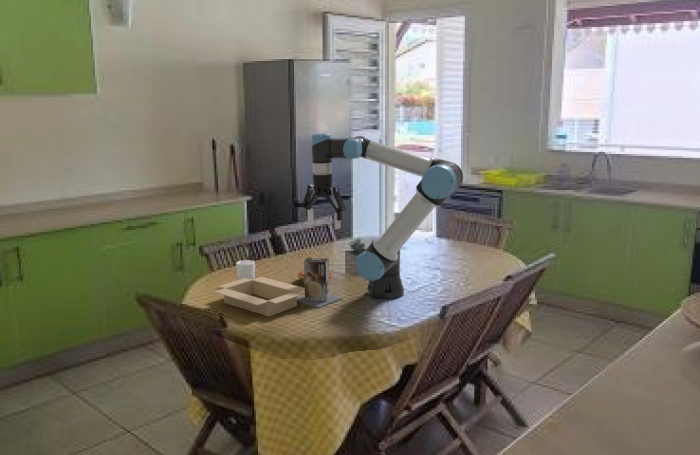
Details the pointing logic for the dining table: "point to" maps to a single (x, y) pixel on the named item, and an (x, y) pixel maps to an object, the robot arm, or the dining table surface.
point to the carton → (277, 291)
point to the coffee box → (316, 279)
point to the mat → (318, 303)
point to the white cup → (246, 269)
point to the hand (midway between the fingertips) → (324, 226)
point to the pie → (301, 275)
